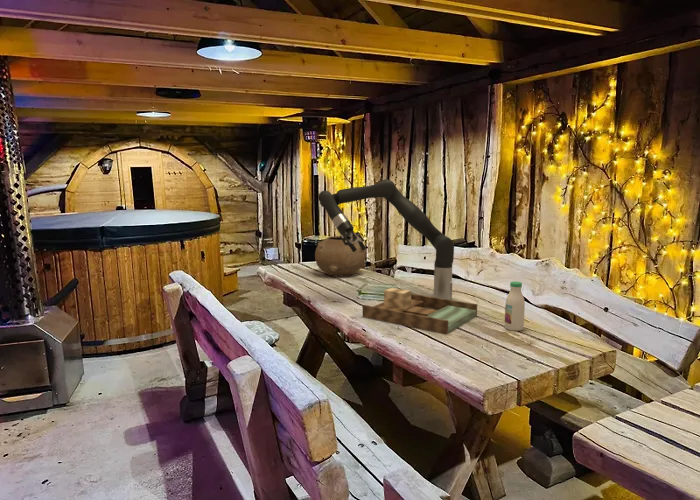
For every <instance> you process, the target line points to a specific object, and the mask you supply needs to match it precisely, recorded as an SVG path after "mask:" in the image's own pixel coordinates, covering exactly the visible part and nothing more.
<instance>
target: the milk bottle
mask: <svg viewBox="0 0 700 500" xmlns="http://www.w3.org/2000/svg"><path fill="white" fill-rule="evenodd" d="M509 286H510V290H509V293H508V295H507V297H506V298H505V305H504V307H505V309H504V328H505V329H506V330H507V331H508V330H509V331H512V332H518V331H519V332H520V331H522V330H524V326H525V311H526V310H525V308H526V307H525V305H526V303H525V298H524V296H523V295H524V294H523V293H522V286H523V283H522V282H521V281H513V280H512V281H511V282H510V283H509Z"/></svg>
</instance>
